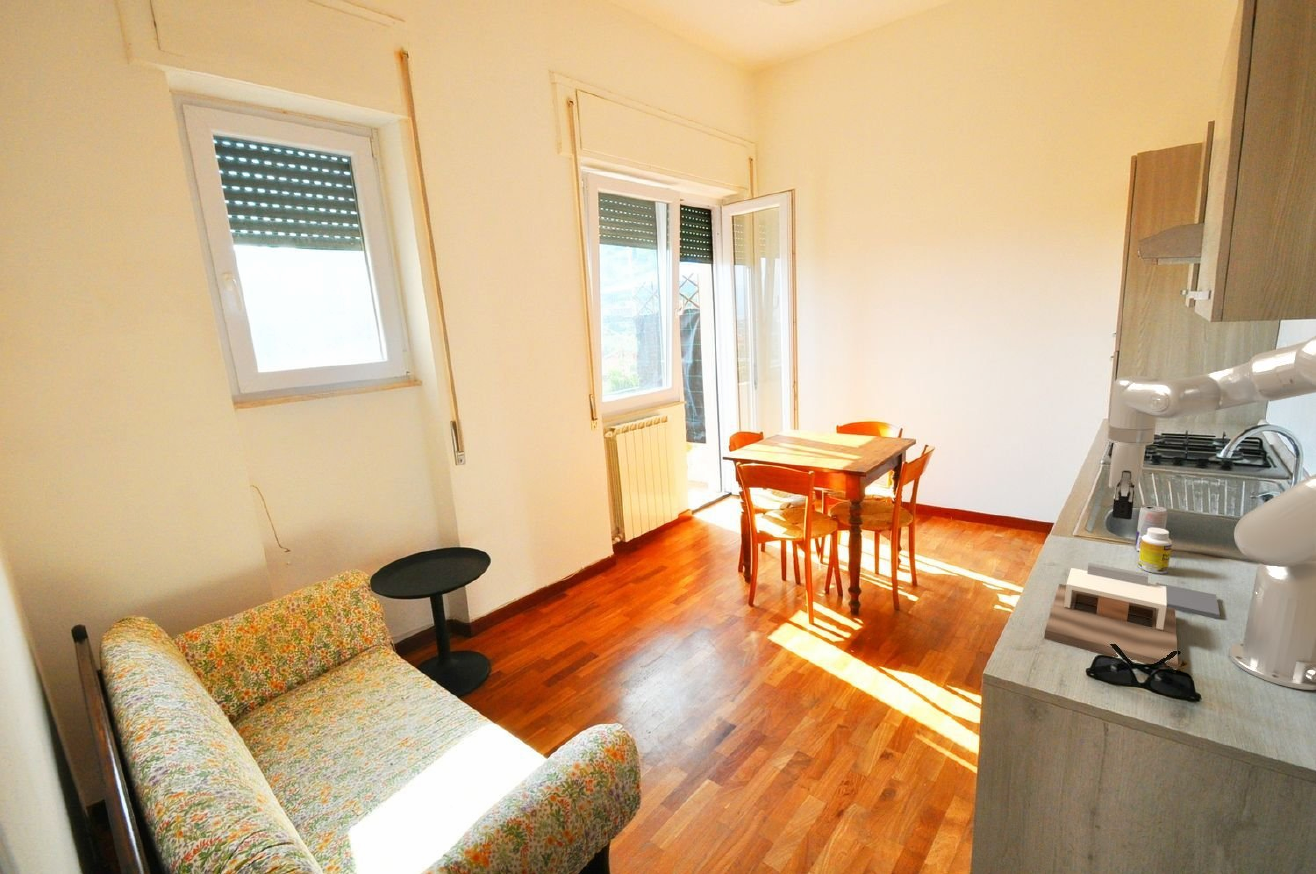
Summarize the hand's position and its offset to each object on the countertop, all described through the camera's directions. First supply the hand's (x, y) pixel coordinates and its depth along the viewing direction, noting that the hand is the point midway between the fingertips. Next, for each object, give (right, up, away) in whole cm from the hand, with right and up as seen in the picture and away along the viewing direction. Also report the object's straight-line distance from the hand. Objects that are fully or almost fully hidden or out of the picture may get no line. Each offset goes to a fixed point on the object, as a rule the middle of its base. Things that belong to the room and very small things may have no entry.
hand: (1122, 511), depth 125 cm
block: (-5, -22, -4) cm, 23 cm away
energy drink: (+26, -14, +24) cm, 38 cm away
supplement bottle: (+20, -16, +15) cm, 30 cm away
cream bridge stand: (-5, -20, -4) cm, 21 cm away
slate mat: (+14, -20, 0) cm, 25 cm away
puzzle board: (-8, -23, -7) cm, 25 cm away
